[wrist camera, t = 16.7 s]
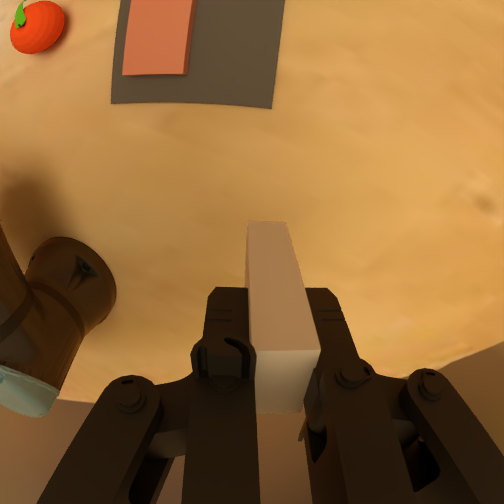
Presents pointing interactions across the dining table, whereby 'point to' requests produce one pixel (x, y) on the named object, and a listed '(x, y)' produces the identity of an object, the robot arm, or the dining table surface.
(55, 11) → the clementine
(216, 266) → the dining table surface
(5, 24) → the dining table surface
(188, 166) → the dining table surface
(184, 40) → the block
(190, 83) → the mat
